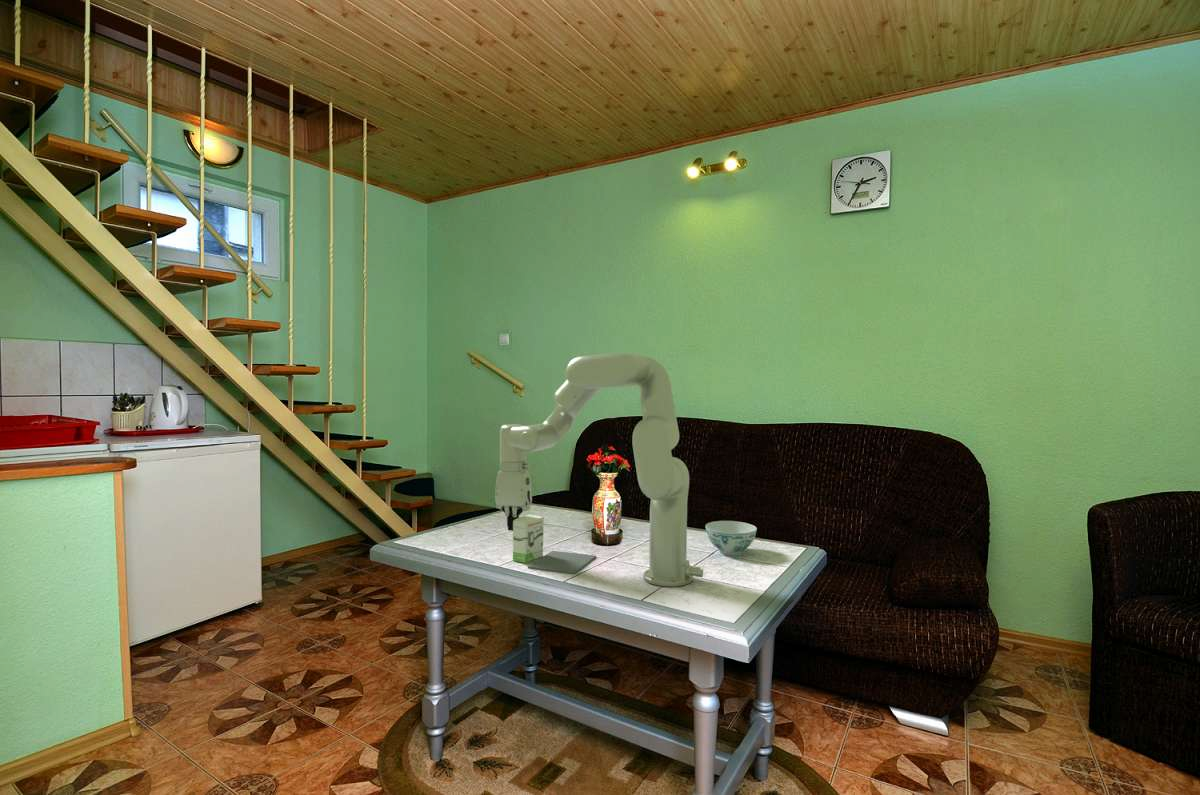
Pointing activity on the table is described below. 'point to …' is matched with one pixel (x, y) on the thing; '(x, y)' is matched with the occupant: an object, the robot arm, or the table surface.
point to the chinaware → (731, 536)
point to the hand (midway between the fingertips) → (513, 529)
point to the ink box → (527, 538)
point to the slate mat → (562, 562)
